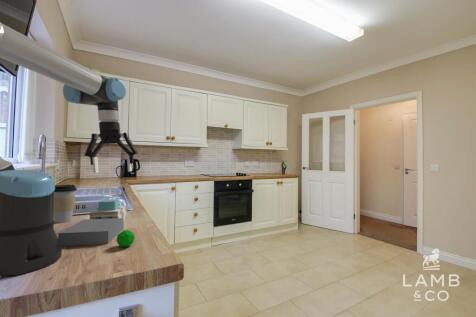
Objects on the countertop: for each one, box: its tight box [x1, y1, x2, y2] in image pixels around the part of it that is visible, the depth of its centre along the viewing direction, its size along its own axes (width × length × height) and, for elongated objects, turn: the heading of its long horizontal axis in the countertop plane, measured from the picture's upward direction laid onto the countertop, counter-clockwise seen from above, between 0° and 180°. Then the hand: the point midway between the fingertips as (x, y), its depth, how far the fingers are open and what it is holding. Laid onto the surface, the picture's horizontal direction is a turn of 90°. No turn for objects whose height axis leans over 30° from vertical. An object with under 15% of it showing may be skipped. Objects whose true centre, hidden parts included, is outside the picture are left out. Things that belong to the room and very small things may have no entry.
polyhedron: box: [116, 229, 136, 248], centre depth 71 cm, size 5×5×5 cm
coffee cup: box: [54, 184, 78, 224], centre depth 98 cm, size 9×9×15 cm
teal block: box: [98, 198, 121, 211], centre depth 96 cm, size 6×6×4 cm
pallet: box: [89, 205, 128, 221], centre depth 96 cm, size 12×10×6 cm
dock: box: [57, 218, 125, 247], centre depth 80 cm, size 16×14×4 cm
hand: (113, 172), depth 98 cm, fingers open, 13 cm apart
